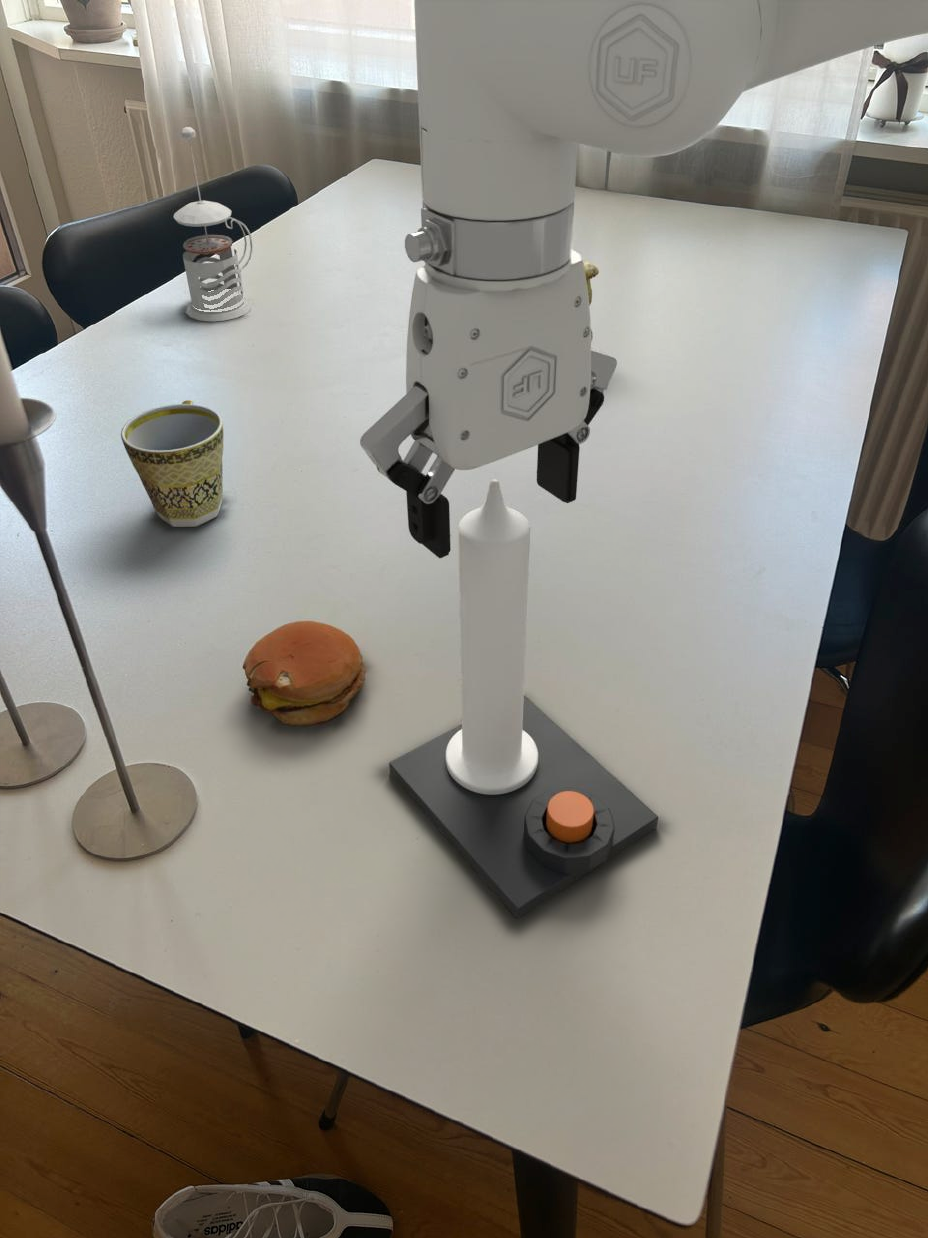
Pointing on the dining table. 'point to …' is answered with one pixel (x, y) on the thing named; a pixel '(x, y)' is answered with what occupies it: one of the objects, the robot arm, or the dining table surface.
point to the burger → (304, 672)
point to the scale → (525, 814)
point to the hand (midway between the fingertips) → (495, 518)
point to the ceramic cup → (178, 460)
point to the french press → (220, 245)
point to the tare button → (569, 816)
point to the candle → (493, 650)
